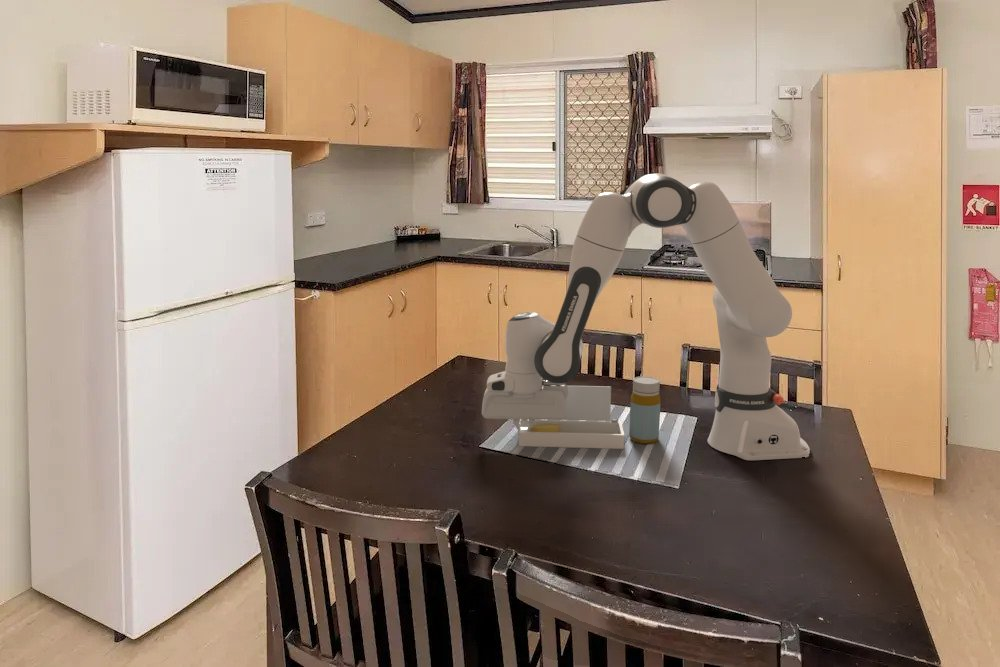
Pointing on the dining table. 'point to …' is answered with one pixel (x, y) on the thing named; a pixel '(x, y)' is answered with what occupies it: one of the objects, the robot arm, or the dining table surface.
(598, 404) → the cover
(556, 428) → the yellow cylinder
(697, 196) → the robot arm
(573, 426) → the white long shallow tray
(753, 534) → the dining table surface
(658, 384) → the bottle
